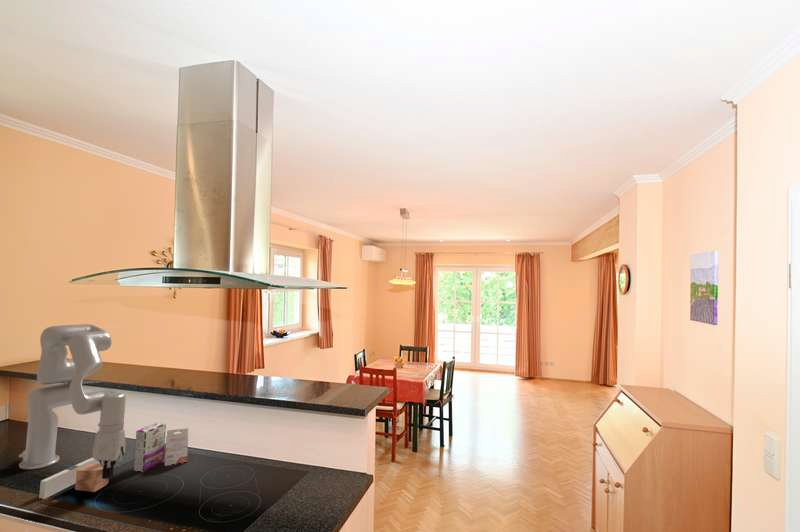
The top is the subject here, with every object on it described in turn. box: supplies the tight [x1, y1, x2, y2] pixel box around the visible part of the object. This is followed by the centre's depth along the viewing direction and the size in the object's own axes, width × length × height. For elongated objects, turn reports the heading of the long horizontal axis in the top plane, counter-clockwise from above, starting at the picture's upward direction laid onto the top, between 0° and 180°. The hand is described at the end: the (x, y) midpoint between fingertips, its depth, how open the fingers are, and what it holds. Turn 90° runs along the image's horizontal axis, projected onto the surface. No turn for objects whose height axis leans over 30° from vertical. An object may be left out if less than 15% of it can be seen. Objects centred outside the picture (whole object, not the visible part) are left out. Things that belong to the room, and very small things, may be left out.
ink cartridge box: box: [164, 427, 189, 467], centre depth 176 cm, size 9×5×15 cm, turn 117°
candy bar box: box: [133, 422, 167, 473], centre depth 171 cm, size 11×5×16 cm, turn 168°
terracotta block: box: [74, 463, 110, 493], centre depth 152 cm, size 8×6×7 cm
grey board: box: [38, 457, 100, 500], centre depth 154 cm, size 2×22×6 cm, turn 172°
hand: (107, 477), depth 151 cm, fingers closed
